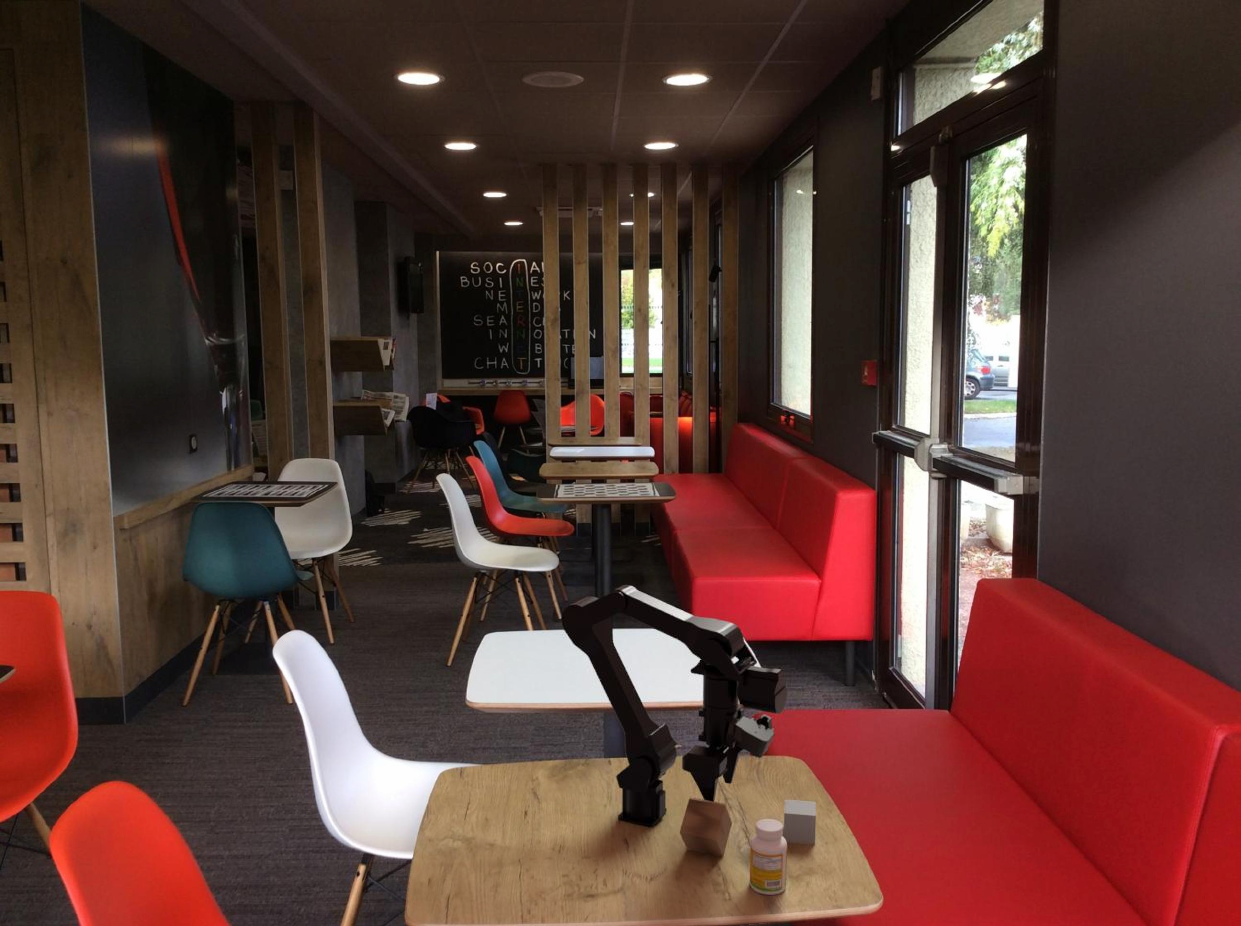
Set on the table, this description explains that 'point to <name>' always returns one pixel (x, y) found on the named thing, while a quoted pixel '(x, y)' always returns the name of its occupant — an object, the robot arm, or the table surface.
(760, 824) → the supplement bottle
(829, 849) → the table surface
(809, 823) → the grey cube
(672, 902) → the table surface
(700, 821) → the walnut cube
